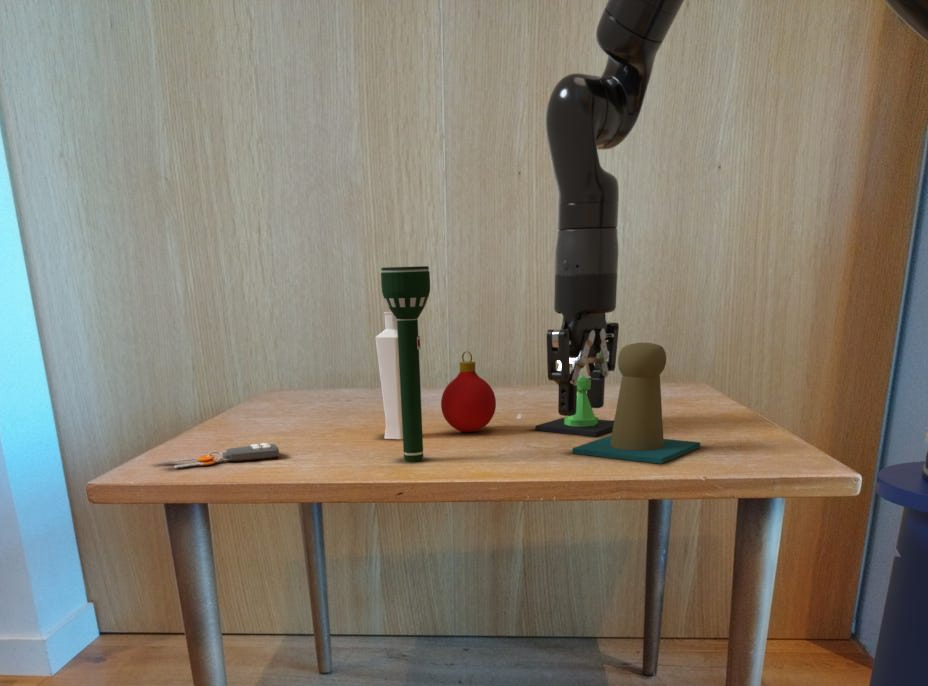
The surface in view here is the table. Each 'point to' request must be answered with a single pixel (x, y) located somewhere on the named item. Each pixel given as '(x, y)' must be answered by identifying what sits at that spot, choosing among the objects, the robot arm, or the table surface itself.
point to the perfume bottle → (390, 376)
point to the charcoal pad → (577, 428)
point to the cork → (639, 398)
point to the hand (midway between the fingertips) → (581, 410)
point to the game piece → (582, 406)
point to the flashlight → (408, 346)
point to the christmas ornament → (468, 400)
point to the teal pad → (653, 456)
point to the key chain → (235, 455)
